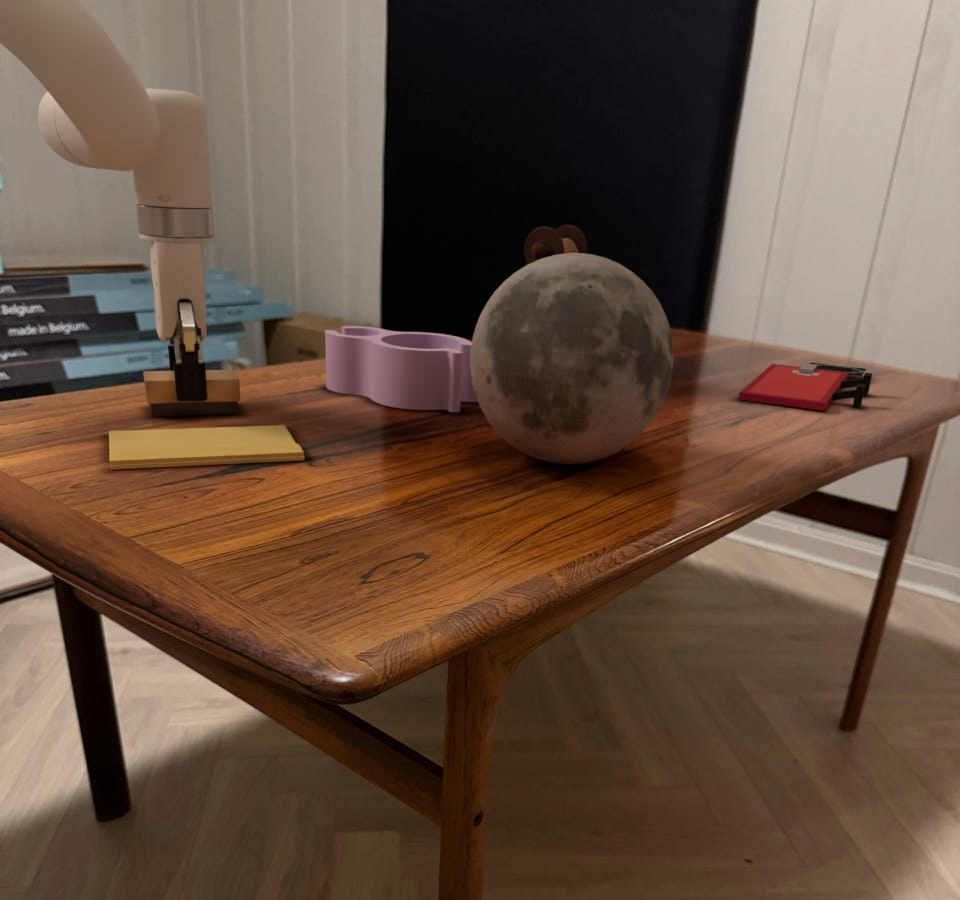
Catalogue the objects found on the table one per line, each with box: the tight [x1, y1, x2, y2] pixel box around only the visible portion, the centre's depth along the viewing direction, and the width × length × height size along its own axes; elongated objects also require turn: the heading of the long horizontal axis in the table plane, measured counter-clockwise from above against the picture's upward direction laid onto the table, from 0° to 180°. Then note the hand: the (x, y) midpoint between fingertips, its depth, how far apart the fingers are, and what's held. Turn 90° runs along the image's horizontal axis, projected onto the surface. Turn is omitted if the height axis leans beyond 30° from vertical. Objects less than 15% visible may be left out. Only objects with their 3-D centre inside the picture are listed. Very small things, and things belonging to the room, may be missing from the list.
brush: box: [142, 369, 241, 418], centre depth 108 cm, size 10×5×4 cm, turn 110°
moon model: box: [470, 253, 675, 465], centre depth 94 cm, size 20×20×20 cm
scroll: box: [524, 224, 588, 265], centre depth 128 cm, size 15×15×20 cm
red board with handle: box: [738, 362, 873, 411], centre depth 137 cm, size 30×3×15 cm
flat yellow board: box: [108, 424, 306, 471], centre depth 96 cm, size 18×12×1 cm, turn 110°
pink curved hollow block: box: [324, 325, 478, 413], centre depth 119 cm, size 20×12×7 cm, turn 64°
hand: (188, 390), depth 107 cm, fingers open, 9 cm apart
